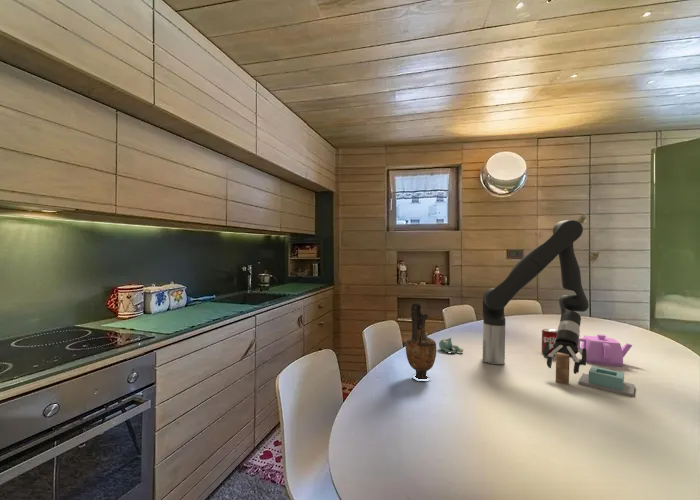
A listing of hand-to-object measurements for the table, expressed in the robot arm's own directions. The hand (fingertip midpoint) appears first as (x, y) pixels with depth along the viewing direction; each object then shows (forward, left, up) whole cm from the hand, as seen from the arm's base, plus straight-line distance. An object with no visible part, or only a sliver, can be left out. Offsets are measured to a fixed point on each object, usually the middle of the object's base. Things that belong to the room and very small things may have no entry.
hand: (561, 369), depth 127 cm
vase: (-51, -19, -5) cm, 54 cm away
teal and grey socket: (+15, +5, -5) cm, 17 cm away
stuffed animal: (-43, +24, -6) cm, 50 cm away
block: (0, +1, -5) cm, 5 cm away
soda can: (+2, +40, -6) cm, 41 cm away
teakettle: (+23, +40, -6) cm, 47 cm away
